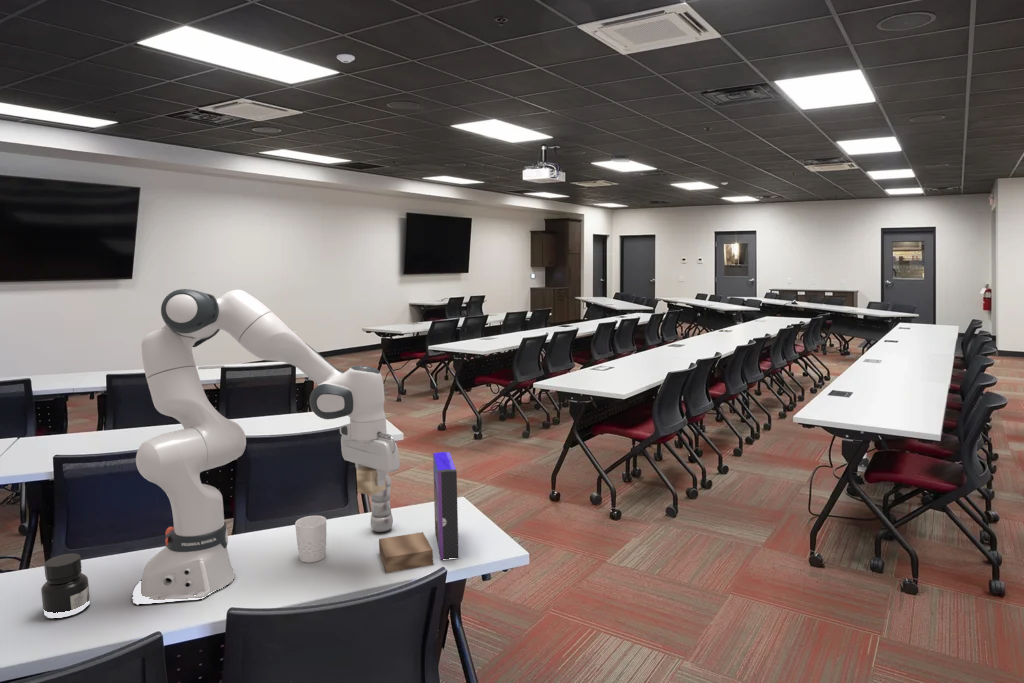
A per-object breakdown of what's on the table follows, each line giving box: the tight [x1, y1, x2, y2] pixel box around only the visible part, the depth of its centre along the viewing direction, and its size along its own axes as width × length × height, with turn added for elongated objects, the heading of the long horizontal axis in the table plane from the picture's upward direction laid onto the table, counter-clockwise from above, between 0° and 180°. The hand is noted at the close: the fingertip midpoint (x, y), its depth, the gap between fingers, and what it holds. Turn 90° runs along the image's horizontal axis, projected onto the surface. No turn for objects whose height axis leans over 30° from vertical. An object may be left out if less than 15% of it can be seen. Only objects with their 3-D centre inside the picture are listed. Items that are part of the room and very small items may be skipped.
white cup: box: [294, 515, 327, 563], centre depth 176 cm, size 8×8×10 cm
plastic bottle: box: [370, 473, 394, 533], centre depth 192 cm, size 6×7×20 cm
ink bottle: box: [41, 553, 91, 613], centre depth 150 cm, size 10×9×12 cm
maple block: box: [356, 466, 386, 496], centre depth 169 cm, size 5×5×6 cm
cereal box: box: [432, 451, 460, 561], centre depth 181 cm, size 17×5×24 cm, turn 11°
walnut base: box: [378, 531, 434, 573], centre depth 174 cm, size 12×12×4 cm
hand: (371, 482), depth 169 cm, fingers closed on maple block, 6 cm apart
